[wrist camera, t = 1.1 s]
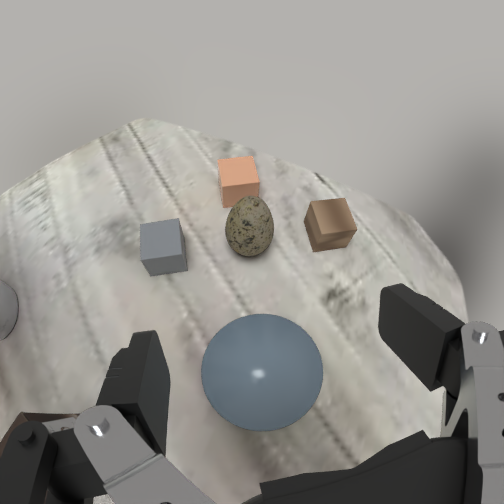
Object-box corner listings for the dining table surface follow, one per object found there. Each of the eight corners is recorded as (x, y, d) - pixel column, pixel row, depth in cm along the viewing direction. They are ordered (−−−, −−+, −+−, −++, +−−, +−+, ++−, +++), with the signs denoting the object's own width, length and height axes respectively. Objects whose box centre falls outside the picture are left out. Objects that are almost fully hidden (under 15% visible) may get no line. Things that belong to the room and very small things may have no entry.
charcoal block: (150, 276, 40) (140, 260, 35) (149, 243, 42) (140, 224, 37) (187, 271, 40) (181, 254, 36) (184, 238, 42) (178, 218, 38)
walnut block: (313, 252, 42) (321, 234, 38) (303, 221, 44) (310, 201, 40) (345, 247, 43) (357, 229, 38) (335, 217, 45) (344, 197, 41)
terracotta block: (223, 208, 45) (222, 186, 40) (218, 182, 47) (217, 159, 43) (257, 203, 46) (259, 182, 41) (250, 178, 48) (252, 155, 43)
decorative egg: (255, 219, 44) (259, 172, 35) (279, 251, 42) (290, 208, 33) (218, 238, 43) (214, 193, 34) (241, 272, 40) (242, 233, 31)
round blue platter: (178, 378, 34) (176, 377, 33) (253, 294, 39) (254, 291, 38) (271, 452, 30) (272, 453, 29) (342, 361, 36) (345, 360, 34)
